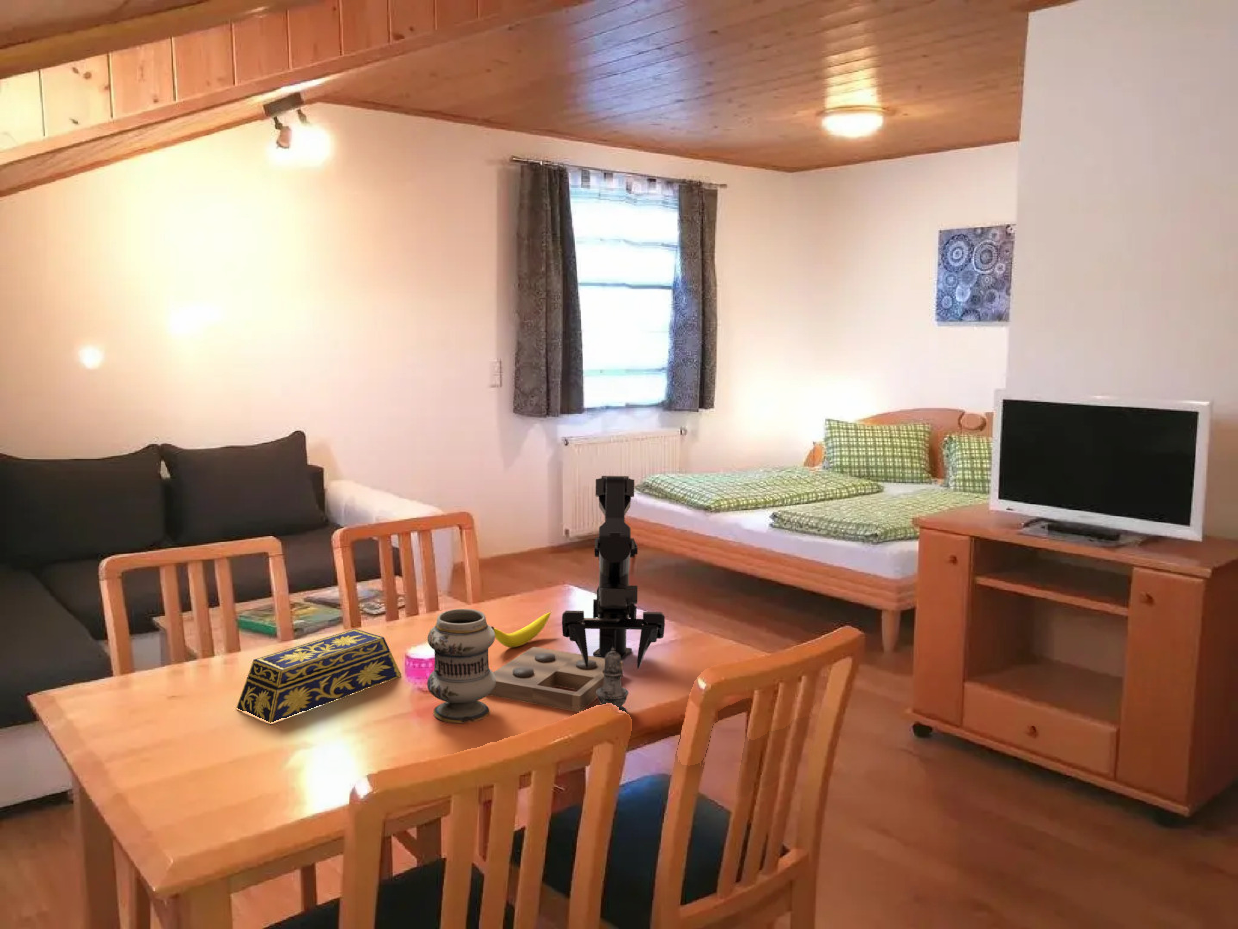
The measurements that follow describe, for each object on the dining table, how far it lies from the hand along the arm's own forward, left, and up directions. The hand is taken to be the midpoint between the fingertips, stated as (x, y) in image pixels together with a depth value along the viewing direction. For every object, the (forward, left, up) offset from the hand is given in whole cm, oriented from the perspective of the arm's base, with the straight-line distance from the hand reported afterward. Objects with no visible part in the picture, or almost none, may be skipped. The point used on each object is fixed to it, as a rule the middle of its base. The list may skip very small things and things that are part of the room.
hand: (612, 667), depth 178 cm
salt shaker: (0, 0, -8) cm, 8 cm away
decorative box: (+15, -53, -9) cm, 55 cm away
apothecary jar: (+12, -24, -8) cm, 28 cm away
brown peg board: (-7, -15, -8) cm, 19 cm away
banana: (-25, -32, -8) cm, 42 cm away
